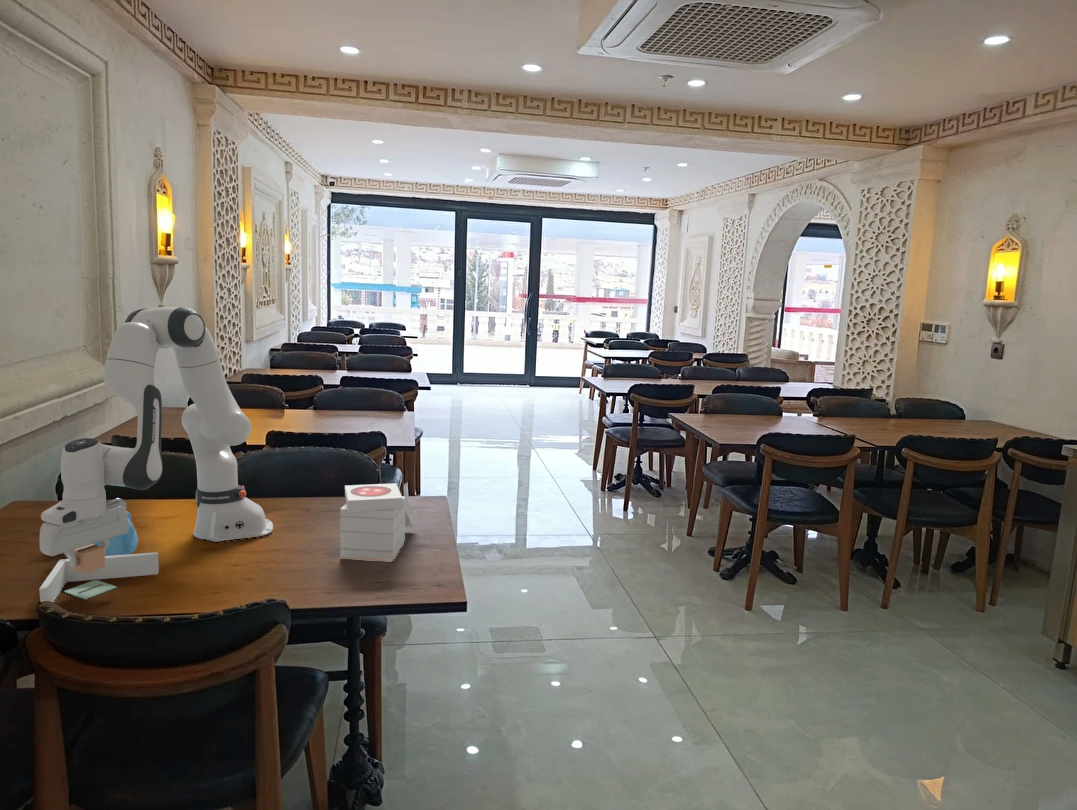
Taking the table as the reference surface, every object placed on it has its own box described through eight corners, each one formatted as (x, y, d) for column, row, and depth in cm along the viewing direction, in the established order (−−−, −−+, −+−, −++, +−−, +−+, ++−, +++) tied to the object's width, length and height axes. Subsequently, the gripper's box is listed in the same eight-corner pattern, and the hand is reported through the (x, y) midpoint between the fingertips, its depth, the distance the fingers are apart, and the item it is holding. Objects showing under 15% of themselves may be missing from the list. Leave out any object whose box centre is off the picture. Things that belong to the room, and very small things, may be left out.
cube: (91, 562, 184) (90, 542, 183) (105, 566, 182) (104, 546, 181) (71, 569, 179) (70, 548, 178) (85, 573, 177) (84, 553, 176)
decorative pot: (140, 544, 212) (137, 498, 210) (136, 564, 198) (134, 515, 196) (73, 551, 205) (70, 503, 203) (65, 572, 191) (61, 521, 189)
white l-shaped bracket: (158, 572, 194) (157, 552, 193) (148, 601, 177) (147, 579, 176) (61, 580, 186) (59, 559, 185) (41, 611, 169) (39, 588, 169)
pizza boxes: (420, 529, 234) (421, 474, 231) (397, 566, 205) (398, 503, 202) (360, 526, 235) (360, 471, 232) (329, 561, 205) (329, 499, 202)
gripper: (116, 494, 188) (119, 545, 191) (33, 515, 170) (37, 572, 172) (133, 498, 186) (136, 550, 188) (50, 520, 168) (54, 578, 170)
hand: (88, 561), depth 180 cm, fingers closed on cube, 5 cm apart
